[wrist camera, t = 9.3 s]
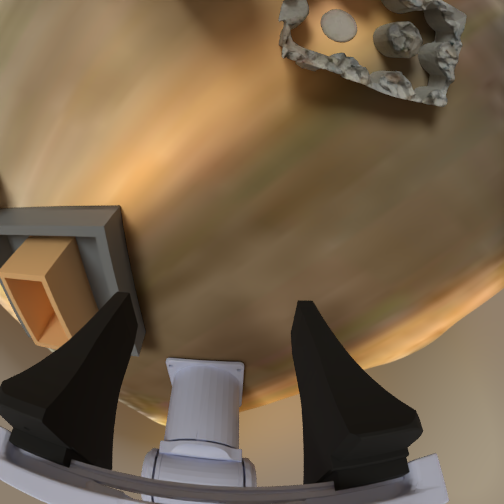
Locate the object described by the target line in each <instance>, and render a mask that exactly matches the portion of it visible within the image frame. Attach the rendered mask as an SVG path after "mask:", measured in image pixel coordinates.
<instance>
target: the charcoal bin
mask: <svg viewBox="0 0 504 504" xmlns="http://www.w3.org/2000/svg"><path fill="white" fill-rule="evenodd" d="M29 236H75V238H76V242H77V245H78V249H79V252H80V256H81V259H82V262H83V266H84V269H85V272H86V275H87V278H88V281H89V284H90V287H91V290H92V293H93V296H94V299H95V301H96V304H97V307H98V310H100V309H101V308H102V307H103V306H104V305H105V303H106V302H107V301H108V300H109V299H110V298H111V297H112V296H113V295H114V294H115V293H116V292H128V293H130V296H131V300H132V304H133V308H134V312H135V316H136V319H137V323H138V328H137V334H136V339H135V343H134V347H133V350H132V353H131V355H132V356H139V354H140V350H141V347H142V343H143V340H144V337H145V333H146V330H145V327H144V323H143V319H142V315H141V311H140V307H139V303H138V299H137V294H136V290H135V285H134V281H133V276H132V272H131V267H130V262H129V257H128V251H127V246H126V240H125V235H124V229H123V223H122V216H121V209H120V206H54V207H24V208H3V209H0V268H1V267H2V266H3V265H4V264H5V263H6V261H7V260H8V259H9V258H10V257H11V256H12V255H13V253H14V252H15V251H16V250H17V249H18V248H19V247H20V246H21V245H22V243H23V242H24V241H25V240H26V239H27V238H28V237H29ZM0 283H1V285H2V287H3V289H4V292H5V294H6V296H7V298H8V300H9V302H10V304H11V306H12V308H13V310H14V312H15V314H16V316H17V317H18V319H19V321H20V323H21V325H22V327H23V328H24V330H25V332H26V334H27V335H28V337H31V336H30V334H29V332H28V330H27V329H26V327H25V325H24V323H23V322H22V320H21V318H20V316H19V314H18V312H17V311H16V309H15V307H14V305H13V303H12V301H11V299H10V297H9V295H8V293H7V291H6V289H5V286H4V284H3V282H2V280H1V278H0Z"/></svg>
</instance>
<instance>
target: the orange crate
mask: <svg viewBox="0 0 504 504" xmlns="http://www.w3.org/2000/svg"><path fill="white" fill-rule="evenodd" d="M0 278H1V280H2V282H3V284H4V286H5V289H6V291H7V293H8V295H9V297H10V299H11V301H12V303H13V305H14V307H15V309H16V311H17V312H18V314H19V316H20V318H21V320H22V322H23V323H24V325H25V327H26V329H27V330H28V332H29V334H30V336H31V337H32V339H33V341H34V342H35V344H36V345H38V346H43V347H47V348H52V349H58V348H60V347H61V346H62V345H63V344H65V343H66V342H67V341H68V340H69V339H71V338H72V337H73V336H74V335H75V334H76V333H77V332H78V331H79V330H80V329H81V328H82V327H83V326H84V325H85V324H86V323H87V322H88V321H89V320H90V319H91V318H92V317H93V316H94V315H95V314H96V313H97V312H98V311H99V310H98V307H97V304H96V301H95V299H94V296H93V293H92V290H91V287H90V284H89V281H88V278H87V275H86V272H85V269H84V266H83V262H82V259H81V256H80V252H79V249H78V245H77V242H76V238H75V236H29V237H28V238H27V239H26V240H25V241H24V242H23V243H22V245H21V246H20V247H19V248H18V249H17V250H16V251H15V252H14V253H13V255H12V256H11V257H10V258H9V259H8V260H7V261H6V263H5V264H4V265H3V266H2V267H1V268H0Z"/></svg>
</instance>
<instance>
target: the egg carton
mask: <svg viewBox="0 0 504 504" xmlns="http://www.w3.org/2000/svg"><path fill="white" fill-rule="evenodd" d="M381 2H382V3H383V5H384V6H385V7H386V8H387V9H389V10H390V11H392V12H394V13H398V14H403V13H407V12H411V11H415V10H417V11H422V10H423V11H424V16H425V19H426V22H427V23H428V24H429V26H430V27H431V28H432V29H433V30H434V31H435V33H436V35H435V40H434V42H432V43H427V44H424V45H423V46H421V45H422V43H423V40H422V38H421V35H420V33H419V30H418V29H417V28H416V27H415V26H414V25H413V24H412V23H411V22H409V21H404V22H393V23H389V24H385V25H382V26H380V27H378V28H377V29H376V30H375V32H374V34H373V41H374V45H375V47H376V48H377V50H378V51H379V52H380V53H382V54H383V55H384V56H387V57H391V58H411V57H413V56H415V55H416V54H417V53H418V58H419V61H420V64H421V66H422V67H423V69H424V70H425V71H427V72H428V73H429V74H430V77H429V82H428V86H426V87H418V88H416V89H415V90H414V91H413V88H412V85H411V82H410V81H409V80H408V79H407V78H406V77H405V76H404V75H403V74H402V72H399V71H376V72H373V73H371V74H370V75H369V72H368V70H367V69H366V67H362V66H361V65H359V63H358V61H357V60H355V59H354V58H353V57H346V55H345V53H337V54H333V55H331V56H330V57H329V56H326V55H323V54H320V53H317V52H314V51H311V50H308V49H306V48H303V47H301V46H299V45H298V44H296V43H295V42H294V41H293V39H292V37H291V31H290V30H291V29H294V28H296V27H297V26H298V25H299V24H300V23H302V22H303V21H304V20H305V18H306V17H307V15H308V14H309V6H308V3H307V0H284V1H283V4H282V7H281V11H280V16H279V22H280V21H283V22H284V27H283V29H282V31H281V33H280V39H279V46H281V47H283V49H282V58H283V59H284V58H285V57H287V58H288V59H291V60H294V61H295V62H296V64H297V65H298V66H299V67H301V68H304V69H308V70H311V71H316V70H318V69H320V68H322V69H326V70H329V71H331V72H334V73H337V74H340V75H341V77H343V78H345V79H349V80H352V81H355V82H358V83H361V84H364V85H366V86H368V87H370V88H372V89H375V90H377V91H379V92H382V93H384V94H387V95H390V96H393V97H397V98H401V99H406V100H410V101H415V102H421V103H424V104H428V105H436V106H441V107H444V106H445V105H447V98H446V93H447V89H448V87H449V85H450V84H451V83H452V82H454V79H455V76H454V69H455V66H456V64H457V63H458V56H459V53H460V50H461V47H462V43H461V40H460V37H461V34H462V32H463V30H464V27H465V22H466V17H467V16H466V15H465V14H464V13H463V12H461V11H460V10H458V9H456V8H454V7H453V6H451V5H449V4H447V3H445V2H444V1H442V0H381ZM321 27H322V30H323V32H324V34H325V35H326V36H327V37H328V38H329V39H332V40H334V41H336V42H347V41H349V40H351V39H353V37H354V36H355V35H356V32H357V25H356V22H355V20H354V18H353V17H352V16H351V15H350V14H348V13H346V12H345V11H343V10H339V9H334V10H330V11H328V12H327V13H325V14H324V15H323V16H322V18H321ZM418 51H419V52H418Z"/></svg>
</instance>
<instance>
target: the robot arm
mask: <svg viewBox="0 0 504 504" xmlns="http://www.w3.org/2000/svg"><path fill="white" fill-rule="evenodd" d="M137 328H138V323H137V319H136V316H135V312H134V308H133V304H132V300H131V296H130V293H128V292H116V293H115V294H114V295H113V296H112V297H111V298H110V299H109V300H108V301H107V302H106V303H105V305H104V306H103V307H102V308H101V309H100V310H99V311H98V312H97V313H96V314H95V315H94V316H93V317H92V318H91V319H90V320H89V321H88V322H87V323H86V324H85V325H84V326H83V327H82V328H81V329H80V330H79V331H78V332H77V333H76V334H75V335H74V336H73V337H72V338H71V339H69V340H68V341H67V342H66V343H65V344H63V345H62V346H61V347H60V348H58V349H57V350H56V351H55V352H53V353H52V354H50V355H49V356H48V357H46V358H45V359H43V360H42V361H41V362H39V363H37V364H36V365H34V366H32V367H31V368H29V369H27V370H25V371H23V372H22V373H20V374H17V375H16V376H13V377H11V378H9V379H7V380H4V381H3V382H2V384H1V386H0V415H1V416H2V417H3V418H4V419H5V420H6V421H7V422H8V423H9V424H10V425H12V426H13V430H12V432H10V431H9V430H7V429H6V428H4V427H2V426H0V480H2V481H4V482H5V483H7V484H9V485H11V486H13V487H15V488H17V489H18V490H20V491H22V492H24V493H26V494H28V495H30V496H32V497H35V498H37V499H39V500H41V501H43V502H46V503H48V504H445V503H447V502H448V501H449V498H448V494H447V490H446V486H445V482H444V478H443V474H442V470H441V467H440V463H439V460H438V456H437V454H436V453H434V454H431V455H428V456H424V457H421V458H418V459H415V460H412V461H410V462H408V463H407V459H406V457H407V456H408V455H409V452H408V448H407V447H408V446H410V445H411V444H412V443H413V442H415V441H416V440H417V439H418V438H419V437H420V436H421V434H422V432H423V429H422V426H421V422H420V419H419V417H418V415H417V413H416V410H414V409H412V408H411V407H409V406H408V405H406V404H405V403H403V402H401V401H400V400H398V399H397V398H395V397H394V396H393V395H391V394H390V393H389V392H387V391H386V390H385V389H384V388H383V387H381V386H380V385H379V384H378V383H377V382H376V381H374V380H373V379H372V378H371V377H370V376H369V375H368V374H367V373H366V372H365V371H364V370H363V369H362V368H361V367H360V366H359V365H358V364H357V363H356V362H355V361H354V359H353V358H352V357H351V356H350V355H349V354H348V352H347V351H346V350H345V348H344V347H343V346H342V345H341V343H340V342H339V341H338V339H337V338H336V336H335V335H334V334H333V332H332V331H331V329H330V328H329V326H328V325H327V323H326V322H325V320H324V319H323V317H322V316H321V314H320V312H319V311H318V309H317V307H316V306H315V304H314V303H313V301H298V302H297V307H296V312H295V316H294V321H293V326H292V330H291V343H292V355H293V361H294V366H295V371H296V376H297V382H298V387H299V392H300V398H301V406H302V421H303V443H304V481H303V482H304V483H303V485H293V486H292V485H291V486H274V487H273V486H272V487H257V485H256V484H257V483H256V471H255V466H254V464H253V463H252V462H251V461H250V460H249V459H248V458H242V450H241V449H239V407H240V406H241V405H242V391H243V377H244V364H243V363H242V362H226V361H207V360H192V359H179V358H167V359H166V365H167V369H168V372H169V376H170V380H171V383H172V392H171V398H170V404H169V410H168V417H167V423H166V431H165V437H164V441H160V449H156V448H153V449H152V450H151V451H150V452H148V453H147V454H146V456H145V459H144V462H143V467H142V475H141V477H140V476H135V475H130V474H125V473H121V472H116V471H112V448H113V433H114V424H115V415H116V409H117V403H118V397H119V392H120V388H121V385H122V381H123V378H124V375H125V372H126V369H127V366H128V363H129V360H130V356H131V353H132V350H133V347H134V343H135V339H136V334H137ZM104 485H105V486H104ZM107 486H108V487H107ZM110 487H112V488H110ZM113 488H116V489H120V490H125V491H129V492H134V493H139V494H141V497H142V500H137V499H133V498H131V497H129V496H127V495H125V494H124V492H122V491H119V490H116V489H113Z"/></svg>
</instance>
